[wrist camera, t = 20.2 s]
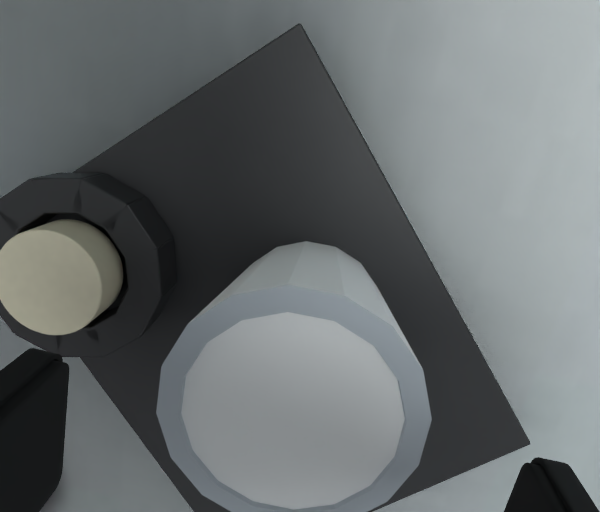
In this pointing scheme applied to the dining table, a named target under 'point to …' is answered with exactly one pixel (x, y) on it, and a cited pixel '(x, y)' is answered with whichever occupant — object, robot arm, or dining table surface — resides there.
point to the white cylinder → (295, 390)
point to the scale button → (59, 276)
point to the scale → (257, 246)
